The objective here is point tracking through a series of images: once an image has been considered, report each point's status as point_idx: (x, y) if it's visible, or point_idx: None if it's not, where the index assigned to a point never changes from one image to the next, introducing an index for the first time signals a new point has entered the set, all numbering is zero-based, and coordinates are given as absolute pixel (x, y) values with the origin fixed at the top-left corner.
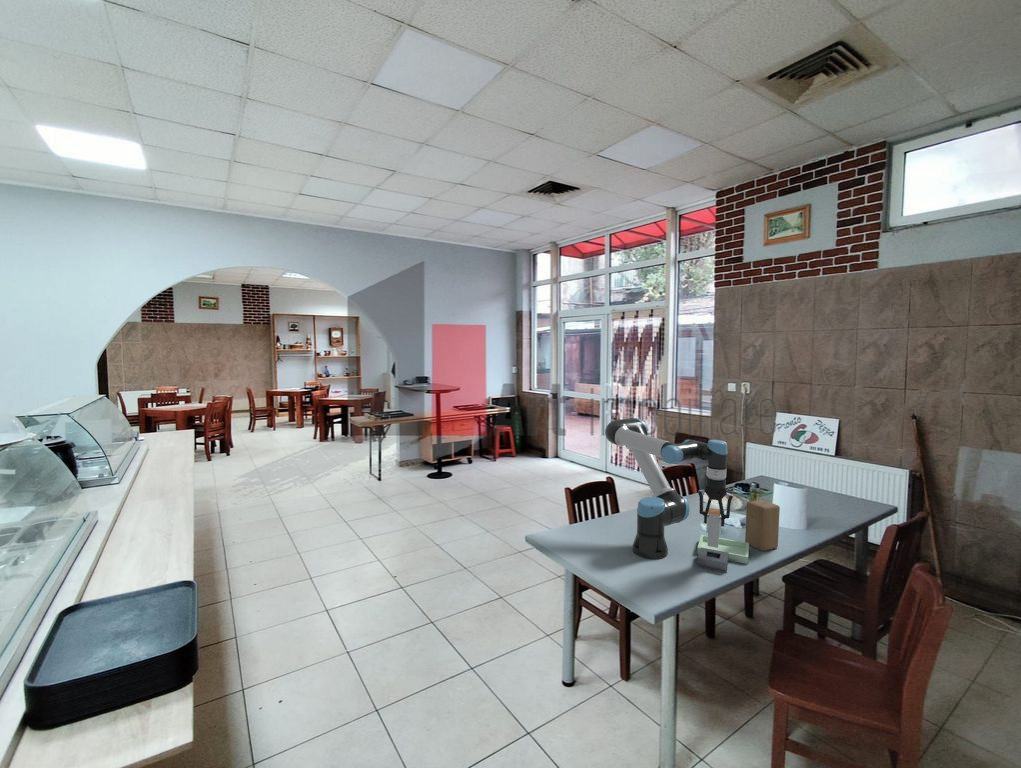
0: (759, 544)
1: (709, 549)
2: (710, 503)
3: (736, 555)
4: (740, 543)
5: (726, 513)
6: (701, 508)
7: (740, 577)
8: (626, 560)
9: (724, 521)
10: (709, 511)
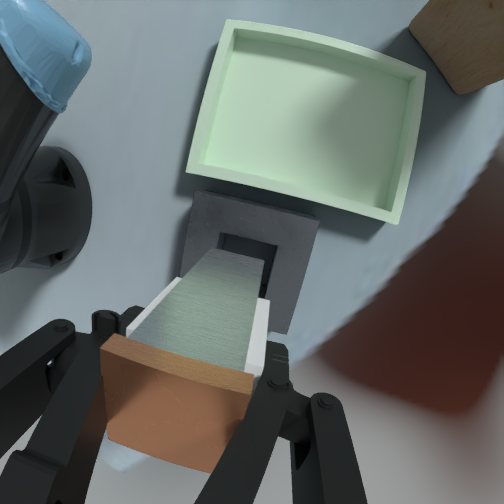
0: (459, 81)
1: (232, 207)
2: (86, 491)
3: (353, 211)
4: (393, 68)
5: (292, 470)
6: (43, 397)
7: (326, 338)
8: (16, 286)
9: (288, 366)
10: (119, 442)
